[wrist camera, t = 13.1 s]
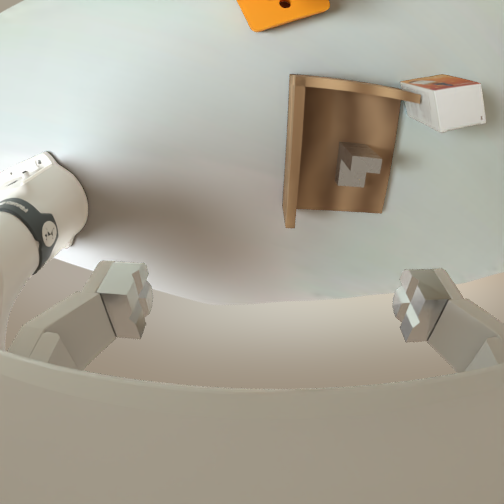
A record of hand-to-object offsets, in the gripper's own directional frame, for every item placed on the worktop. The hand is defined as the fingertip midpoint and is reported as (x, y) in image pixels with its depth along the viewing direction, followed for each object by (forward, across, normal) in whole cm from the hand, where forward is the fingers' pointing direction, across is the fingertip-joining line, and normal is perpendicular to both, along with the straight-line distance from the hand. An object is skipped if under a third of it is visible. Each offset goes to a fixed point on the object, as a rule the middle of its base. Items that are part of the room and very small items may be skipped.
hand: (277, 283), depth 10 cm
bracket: (+36, -13, +7) cm, 39 cm away
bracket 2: (+37, -2, -16) cm, 41 cm away
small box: (+37, -24, -5) cm, 45 cm away
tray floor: (+37, -11, +5) cm, 39 cm away
